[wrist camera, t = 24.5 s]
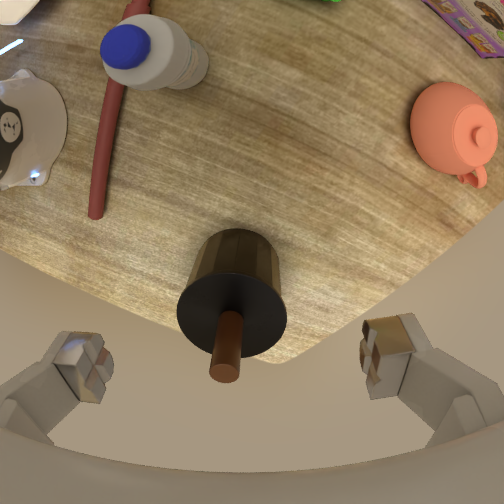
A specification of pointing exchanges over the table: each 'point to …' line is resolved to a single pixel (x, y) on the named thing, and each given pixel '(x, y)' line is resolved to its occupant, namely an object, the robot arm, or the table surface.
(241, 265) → the faceted dark cup
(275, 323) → the lid
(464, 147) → the sugar bowl
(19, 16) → the bowl
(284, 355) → the table surface
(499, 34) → the candy box
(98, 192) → the red brown collared rod
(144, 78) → the bottle
